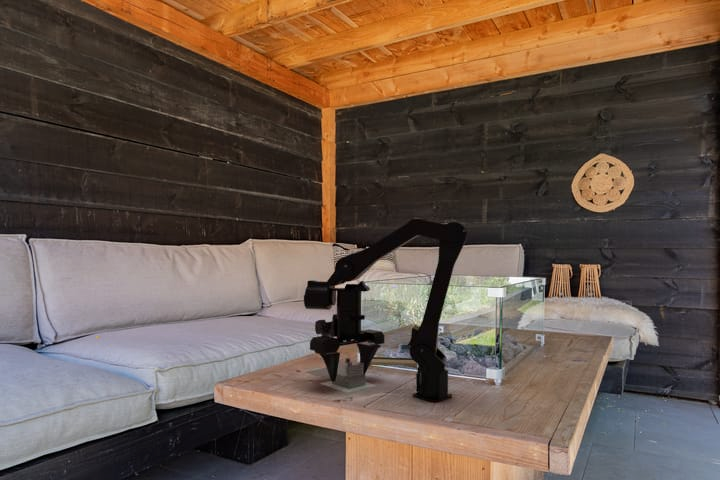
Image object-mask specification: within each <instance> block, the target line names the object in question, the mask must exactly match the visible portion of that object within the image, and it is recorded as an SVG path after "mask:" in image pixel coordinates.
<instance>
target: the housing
mask: <svg viewBox="0 0 720 480" xmlns="http://www.w3.org/2000/svg"><path fill="white" fill-rule="evenodd" d="M365 382H366V373H365V374H364V363H360V361H356V360H352V359H351V358H350V357H346V358H345V359H343V360H339V364H338V371H337V376H336V380H335V382H333V381H332V384H334V385H338V386H341V387H344V388H347V389H352V388H356V387H360V386H364V385H365Z"/></svg>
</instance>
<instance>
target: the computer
mask: <svg viewBox="0 0 720 480" xmlns="http://www.w3.org/2000/svg"><path fill="white" fill-rule="evenodd" d="M370 365H371V366H400V367H401V366H404V367H408V368H412V369H416V370H418V364H417V363H416V362H415V361H414V360H413V359H412V358H411V357H396V358H392V357H391V358H390V357H389V356H386V357H385V356H383V357H381V356H374V357H373V359H372V361H371V363H370ZM370 365H369V366H370Z"/></svg>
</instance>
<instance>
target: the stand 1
mask: <svg viewBox="0 0 720 480" xmlns="http://www.w3.org/2000/svg"><path fill="white" fill-rule="evenodd" d="M306 373H307V374H310V375H313V376H316V377H320V378H322V379H325V380H326V379H327V380H329V381H331V379H330V376H329V373H328V370H327V367H324V368H319V369H314V370H312V369H311V370H308V371H306Z"/></svg>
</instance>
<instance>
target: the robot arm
mask: <svg viewBox="0 0 720 480" xmlns="http://www.w3.org/2000/svg"><path fill="white" fill-rule="evenodd" d="M467 233H468V232H467V229H466V228H465V226H464V225H463V224H462V223H460V222H458V221H452V222H451V221H450V222H447V223H446V224H444V223H440V222H435V221H431V220H425V219H422V218H419V217H413V218H411V219H409V220H408V221H407V222H406V223H405V224H403V225H402V226H400V227H398V228H397V229H395V230H394V231H392V232H390V233H388V234H387V235H386V236H384V237H383V238H381V239H379V240H377V241H376V242H374V243H373V244H371V245H369V246H368V247H366V248H363V249H361V250H359V251H355V252H353V253H351V254H348V255H345V256H343V257H341V258H339V259H338V260H336V262H335V265H334V271H333V273H332V274H331V275H330V276H329V278H328V279H327V280H326V281H322V280H321V281H318V280H307V282H306V283H307V285H306V287H305V292H304V295H303V304H304V305H303V306H304V308H305V309H306V310H322V311H323V310H324V311H325V310H326V311H328V310H329V311H330V310H331V309H332V306H334V307H335V305H336V313H335V314H332V317H331V318H332V320H331V321H328V322H327V321H326V320H325V319H319V320H318V319H317V320H316V321H315V324H314V330H315V335H319V336H313V337H312V338H311V339H310V340H309V341H310V342H309V350H310V351H314V354H318V355H320V357H321V358H322V360H323V362H324V365H325V368H327V370H328V373H329V376H330V379H331V380H330V381H333V382H335V380H336V376H337V371H338V364H339V361H340V357H341V352H338V350H339V349H340V347H342V346H343V347H344V346H348V345H349V346H350V345H354V344H355V345H356V346H357V348H358V350H359V362H360V363H364V374H365V375H366V373H367V371H368V369H369V367H370V363H371V361H372V359H373V357H375V355H376V353H377V351H378V350H379V349H380V348H381V346H382V345H384V344H385V335H384V332H383V331H381V330H376V329H362V321H363V320H366V319H365V317H366V315H365V314H362V292H363V293H364V292H369V291H370V290H371V288H370V287H369V286H368V285H367V284H366V283H365V281H364V280H361V281H359V282H358V283H348V282H352V281H356V280H359V279H360V278H361V277H362V276H364V275H365V274H366V273H367V272H368V271H369V270H371V268H372V267H373V266H374V265H375V264H376V263H377V262H378V261H380V260H382V259H383V258H384V257H387V256H388V255H390V254H391V253H392V252H395V251H396V250H398V249H400V248H401V247H402V246H404V245H406V244H407V243H409V242H411V241H413V240H414V239H415V238H417V237H423V238H428V239H431V240H436V241H438V243H439V244H438V259H437V264H436V269H435V272H434V277H433V281H432V284H431V288H430V291H429V295H428V298H427V303H426V307H425V310H424V314H423V319H422V320H421V323H420V325H417V324H414V325H413V327H412V328H411V334H410V341H409V342H408V343H407V347H409V350H408V351H409V352H408V353H409V356H410V358H412V359H413V360H414V361H415V362H416V363H417V373H416V374H415V376H416V377H415V379H416V380H415V382H416V383H415V385H416V386H415V387H416V388H415V391H416V392H414V393H412V397H415V398H417V399H422V400H426V401H428V402H432V403H438V402H440V401H444V400H447V399H450V398H452V397H453V394H452V393H449V370H448V369H446V368H445V367H446V362H447V356H446V355H445V354H444V353H443V351H441V350H440V348H438V344H439V329H440V320H441V318H442V313H443V308H444V306H445V302H446V299H447V293H448V290H449V286H450V283H451V278H452V275H453V271H454V267H455V265H456V263H457V260H458V258H459V256H460V254H461V252H462V250H463V248H464V245H465V244H466V241H467V238H468V237H467V236H468V234H467ZM345 283H346V284H345ZM344 284H345V286H344V287H335V286H340V285H344Z"/></svg>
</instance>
